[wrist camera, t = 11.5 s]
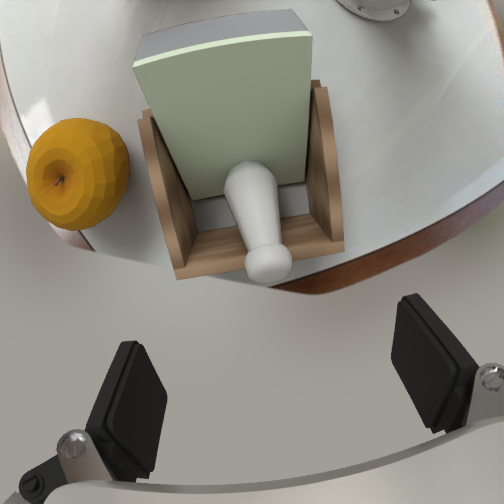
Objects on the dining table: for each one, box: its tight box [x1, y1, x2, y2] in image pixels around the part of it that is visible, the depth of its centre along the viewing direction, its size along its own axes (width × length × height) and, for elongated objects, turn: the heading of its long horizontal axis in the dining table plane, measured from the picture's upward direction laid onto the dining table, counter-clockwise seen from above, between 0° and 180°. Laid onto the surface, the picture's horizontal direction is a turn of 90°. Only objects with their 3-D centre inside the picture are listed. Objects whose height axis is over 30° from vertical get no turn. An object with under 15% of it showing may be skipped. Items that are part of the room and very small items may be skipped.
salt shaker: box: [224, 160, 293, 283], centre depth 30 cm, size 6×6×13 cm
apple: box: [26, 118, 129, 231], centre depth 30 cm, size 13×13×11 cm
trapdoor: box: [133, 9, 312, 200], centre depth 29 cm, size 20×14×6 cm
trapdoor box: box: [138, 80, 345, 280], centre depth 32 cm, size 17×17×10 cm
